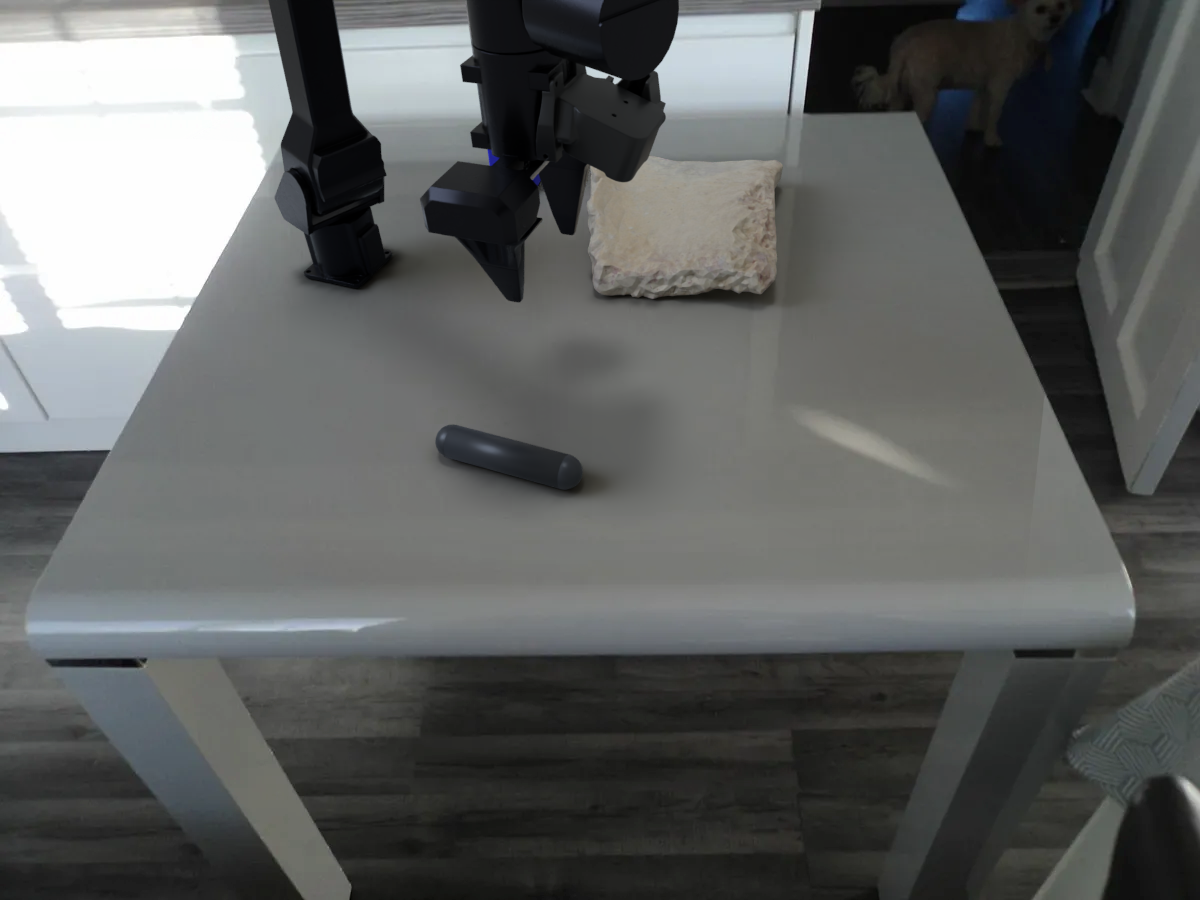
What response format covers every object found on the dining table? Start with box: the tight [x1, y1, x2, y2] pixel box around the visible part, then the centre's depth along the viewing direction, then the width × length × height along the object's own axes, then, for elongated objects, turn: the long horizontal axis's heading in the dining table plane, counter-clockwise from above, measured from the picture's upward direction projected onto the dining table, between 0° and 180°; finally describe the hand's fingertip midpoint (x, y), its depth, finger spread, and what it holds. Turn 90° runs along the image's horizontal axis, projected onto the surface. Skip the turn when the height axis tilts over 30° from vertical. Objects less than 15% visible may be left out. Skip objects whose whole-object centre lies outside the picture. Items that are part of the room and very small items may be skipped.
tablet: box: [586, 155, 784, 300], centre depth 89 cm, size 24×8×20 cm
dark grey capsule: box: [434, 424, 584, 490], centre depth 68 cm, size 12×3×3 cm, turn 67°
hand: (542, 265), depth 64 cm, fingers open, 9 cm apart
